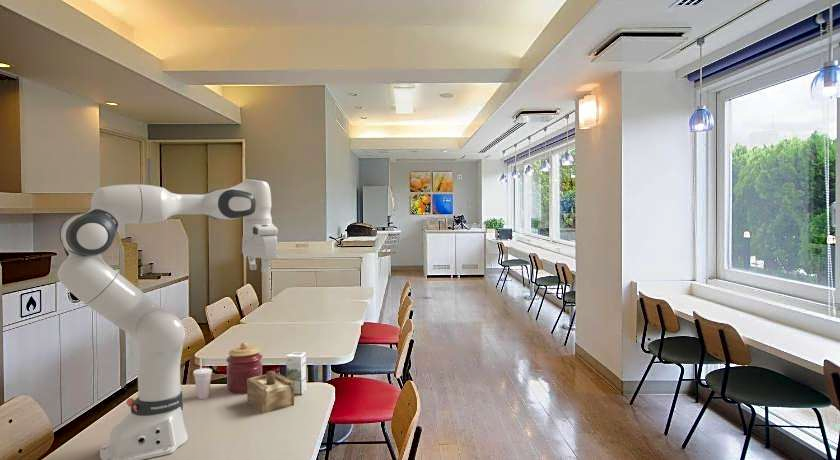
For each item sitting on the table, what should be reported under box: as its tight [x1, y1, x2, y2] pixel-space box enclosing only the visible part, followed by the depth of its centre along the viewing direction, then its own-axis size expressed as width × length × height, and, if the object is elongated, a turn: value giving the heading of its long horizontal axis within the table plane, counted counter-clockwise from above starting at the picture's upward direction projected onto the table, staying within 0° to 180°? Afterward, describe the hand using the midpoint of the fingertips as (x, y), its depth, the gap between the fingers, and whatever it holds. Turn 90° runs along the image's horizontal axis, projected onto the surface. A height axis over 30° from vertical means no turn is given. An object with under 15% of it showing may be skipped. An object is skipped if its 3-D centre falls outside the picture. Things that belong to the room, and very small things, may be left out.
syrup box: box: [285, 351, 307, 396], centre depth 192 cm, size 6×6×14 cm
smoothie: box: [192, 358, 213, 400], centre depth 188 cm, size 6×6×14 cm
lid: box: [257, 370, 290, 395], centre depth 180 cm, size 8×13×5 cm
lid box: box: [246, 371, 295, 414], centre depth 181 cm, size 11×14×8 cm
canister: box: [225, 341, 263, 395], centre depth 196 cm, size 13×13×18 cm
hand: (259, 271), depth 169 cm, fingers open, 8 cm apart
